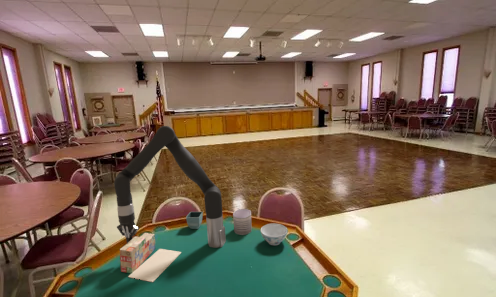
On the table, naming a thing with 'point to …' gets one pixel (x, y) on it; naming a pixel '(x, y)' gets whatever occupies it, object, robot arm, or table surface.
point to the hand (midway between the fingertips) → (129, 243)
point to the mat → (155, 265)
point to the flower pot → (194, 219)
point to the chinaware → (274, 233)
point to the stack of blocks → (136, 252)
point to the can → (242, 221)
